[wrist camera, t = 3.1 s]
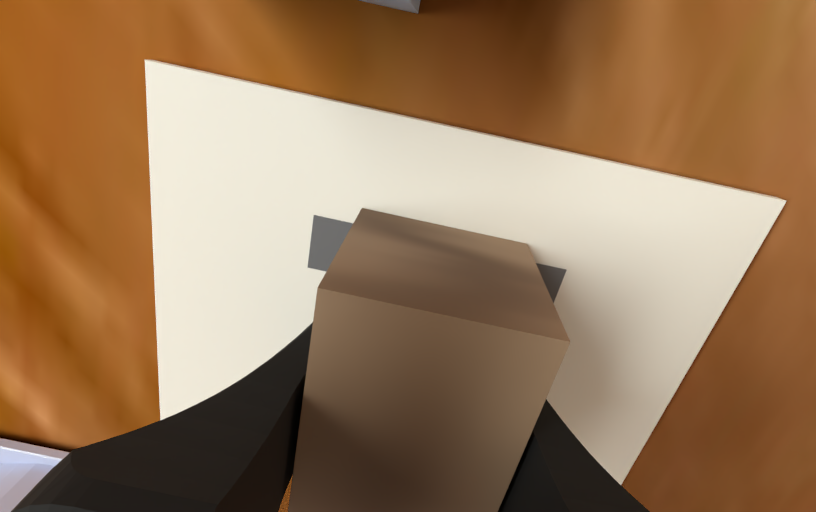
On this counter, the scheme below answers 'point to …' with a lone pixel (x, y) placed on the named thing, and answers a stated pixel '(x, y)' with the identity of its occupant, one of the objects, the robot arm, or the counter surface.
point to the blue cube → (398, 4)
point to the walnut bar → (423, 370)
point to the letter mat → (435, 203)
